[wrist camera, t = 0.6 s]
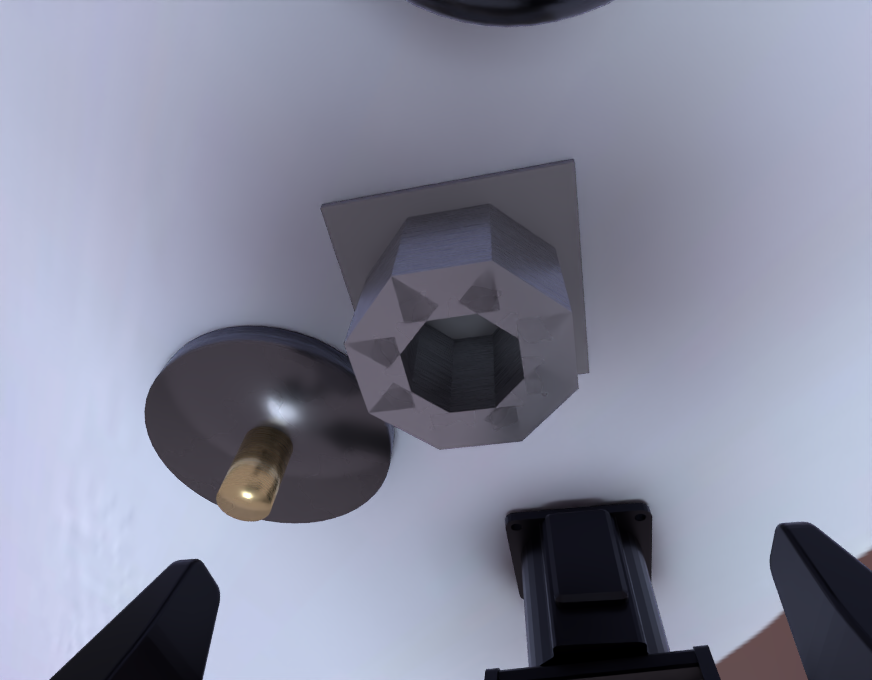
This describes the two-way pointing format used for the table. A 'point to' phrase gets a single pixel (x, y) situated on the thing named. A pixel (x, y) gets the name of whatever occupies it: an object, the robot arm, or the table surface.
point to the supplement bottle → (508, 10)
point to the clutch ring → (468, 357)
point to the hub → (268, 426)
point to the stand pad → (507, 191)
